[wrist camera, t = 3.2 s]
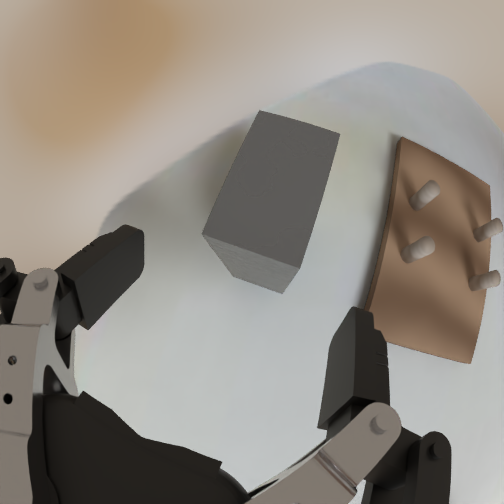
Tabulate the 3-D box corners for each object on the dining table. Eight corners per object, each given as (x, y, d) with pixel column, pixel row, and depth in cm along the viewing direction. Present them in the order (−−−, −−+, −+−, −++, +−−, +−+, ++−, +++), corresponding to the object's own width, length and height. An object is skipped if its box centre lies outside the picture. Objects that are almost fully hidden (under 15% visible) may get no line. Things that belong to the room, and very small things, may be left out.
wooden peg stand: (462, 362, 17) (493, 366, 13) (356, 332, 18) (379, 335, 14) (483, 190, 20) (506, 172, 16) (397, 143, 21) (414, 116, 17)
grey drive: (282, 294, 19) (299, 268, 9) (233, 276, 19) (201, 234, 10) (309, 214, 20) (340, 131, 11) (263, 199, 21) (260, 108, 11)
